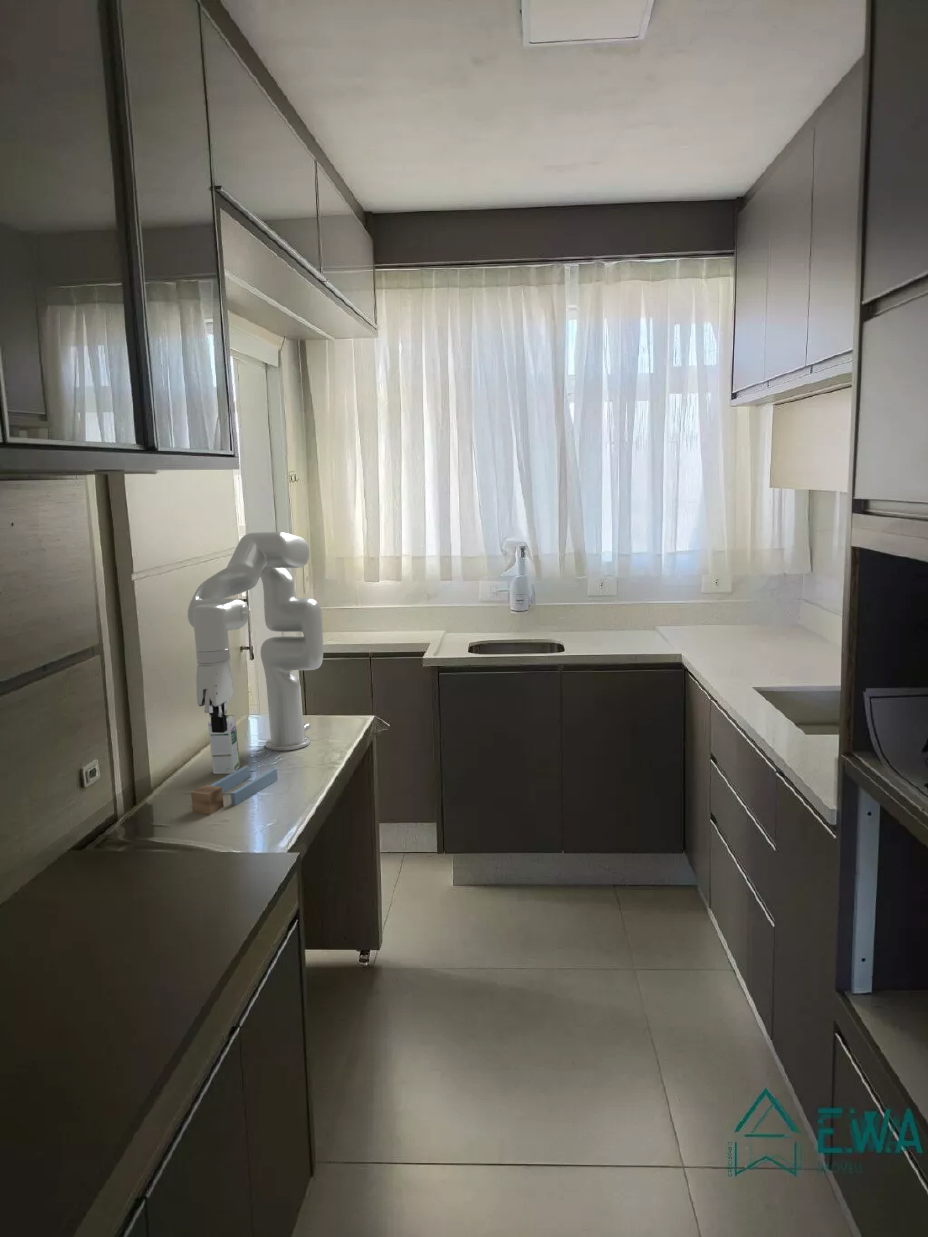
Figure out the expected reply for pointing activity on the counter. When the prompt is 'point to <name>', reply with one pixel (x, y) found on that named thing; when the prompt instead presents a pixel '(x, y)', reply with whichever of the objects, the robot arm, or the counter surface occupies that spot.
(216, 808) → the walnut block
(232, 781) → the channel
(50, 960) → the counter surface
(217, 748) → the syrup box
